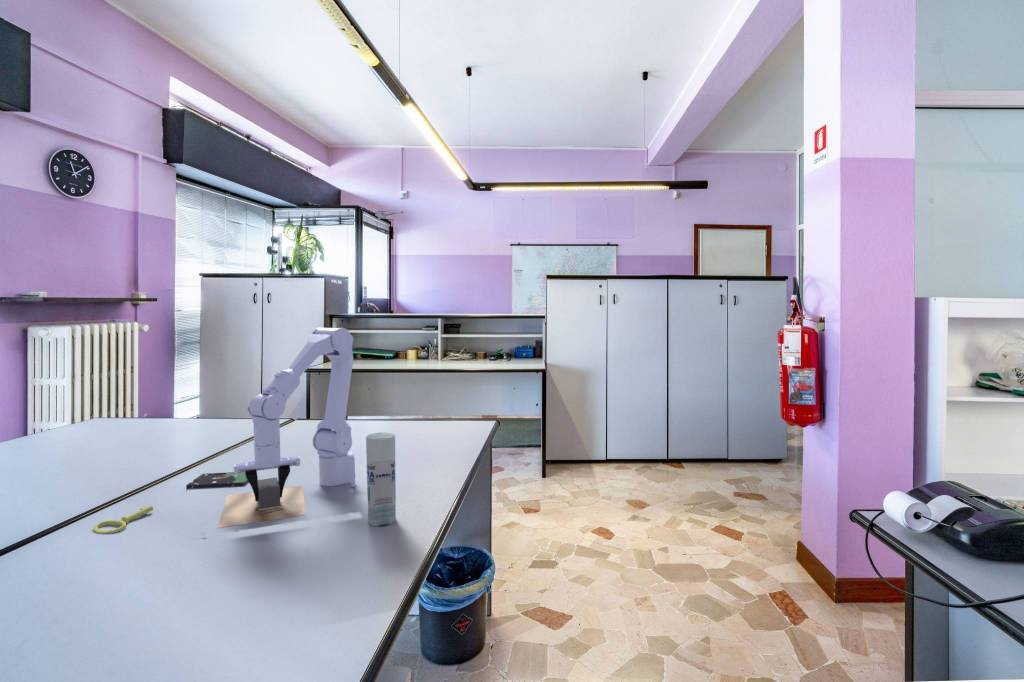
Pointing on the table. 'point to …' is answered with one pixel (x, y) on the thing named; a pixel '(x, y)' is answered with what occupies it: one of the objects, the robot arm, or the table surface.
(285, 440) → the table surface
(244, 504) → the oak board
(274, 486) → the block
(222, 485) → the disk drive
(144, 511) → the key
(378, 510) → the spray paint can
